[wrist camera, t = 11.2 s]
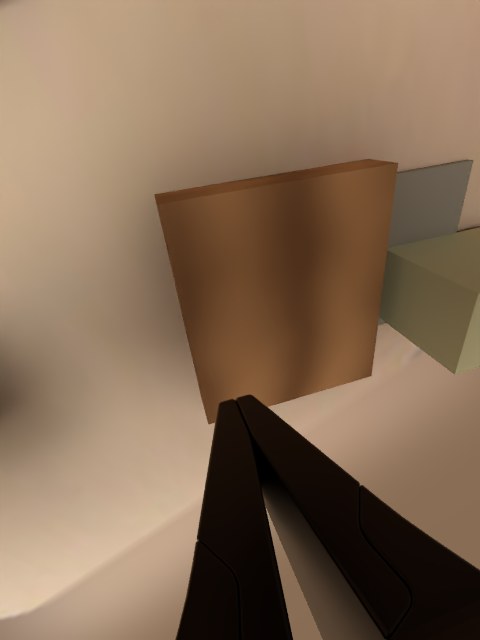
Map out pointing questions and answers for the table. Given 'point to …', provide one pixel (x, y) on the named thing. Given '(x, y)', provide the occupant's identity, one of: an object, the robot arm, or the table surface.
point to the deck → (281, 278)
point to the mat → (428, 203)
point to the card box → (436, 297)
